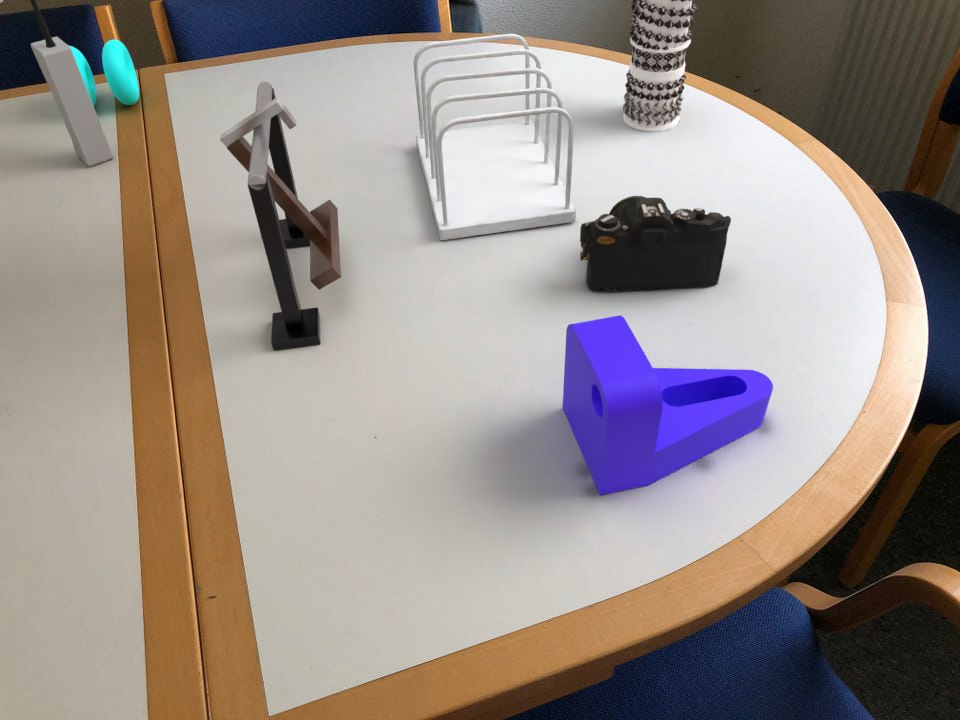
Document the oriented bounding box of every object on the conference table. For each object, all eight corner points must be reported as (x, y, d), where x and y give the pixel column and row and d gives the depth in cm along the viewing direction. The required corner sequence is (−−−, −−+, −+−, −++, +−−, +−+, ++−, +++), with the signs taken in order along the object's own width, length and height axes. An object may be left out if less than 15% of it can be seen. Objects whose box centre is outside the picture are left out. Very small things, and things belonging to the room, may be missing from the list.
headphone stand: (318, 290, 86) (208, 175, 75) (317, 220, 96) (220, 110, 85) (379, 255, 84) (275, 131, 73) (371, 188, 95) (279, 70, 84)
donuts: (81, 97, 133) (57, 37, 126) (142, 88, 135) (122, 29, 128) (75, 123, 126) (49, 61, 119) (140, 113, 128) (119, 52, 121)
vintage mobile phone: (101, 147, 120) (32, -29, 103) (114, 159, 117) (44, -20, 100) (77, 155, 118) (2, -22, 101) (89, 168, 115) (14, -13, 98)
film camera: (681, 224, 99) (692, 151, 92) (737, 280, 91) (754, 204, 84) (550, 257, 95) (552, 183, 88) (596, 318, 86) (602, 242, 80)
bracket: (599, 495, 69) (609, 401, 61) (562, 407, 77) (567, 314, 69) (789, 455, 72) (823, 359, 64) (735, 374, 79) (758, 280, 71)
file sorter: (416, 146, 116) (405, 39, 106) (532, 132, 118) (533, 26, 108) (440, 241, 98) (430, 124, 88) (576, 224, 100) (582, 106, 89)
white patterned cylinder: (683, 107, 122) (710, -71, 105) (679, 135, 116) (706, -50, 99) (624, 102, 124) (640, -73, 107) (617, 130, 118) (633, -53, 101)
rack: (273, 350, 85) (226, 187, 71) (278, 227, 102) (241, 77, 88) (320, 344, 85) (282, 181, 72) (317, 223, 102) (286, 73, 89)
